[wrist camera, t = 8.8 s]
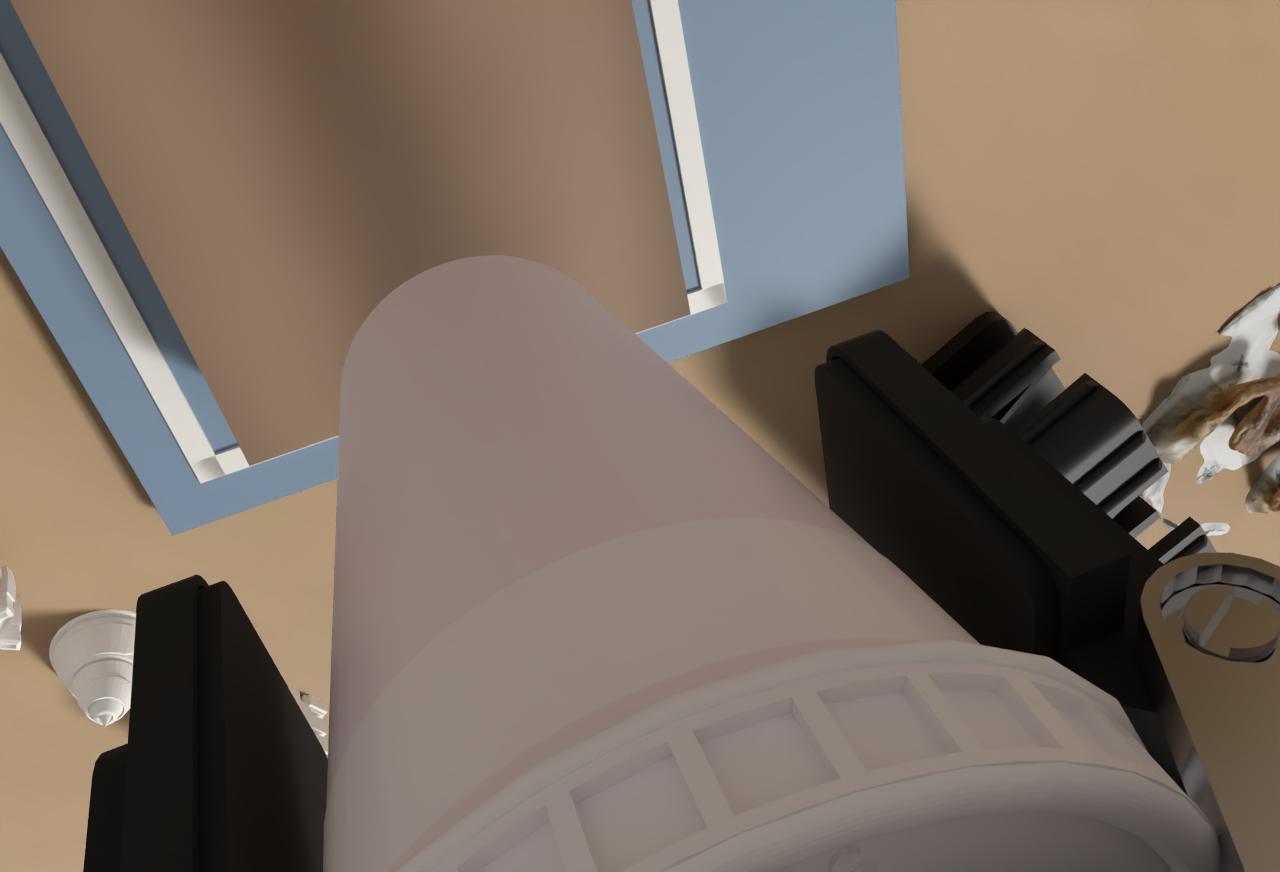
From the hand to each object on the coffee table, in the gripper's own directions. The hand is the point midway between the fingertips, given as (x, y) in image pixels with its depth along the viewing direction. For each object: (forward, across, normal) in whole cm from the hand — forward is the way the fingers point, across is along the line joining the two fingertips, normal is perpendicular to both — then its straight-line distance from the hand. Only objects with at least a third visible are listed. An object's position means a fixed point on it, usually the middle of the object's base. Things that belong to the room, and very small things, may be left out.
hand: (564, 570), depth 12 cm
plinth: (+16, 0, 0) cm, 16 cm away
